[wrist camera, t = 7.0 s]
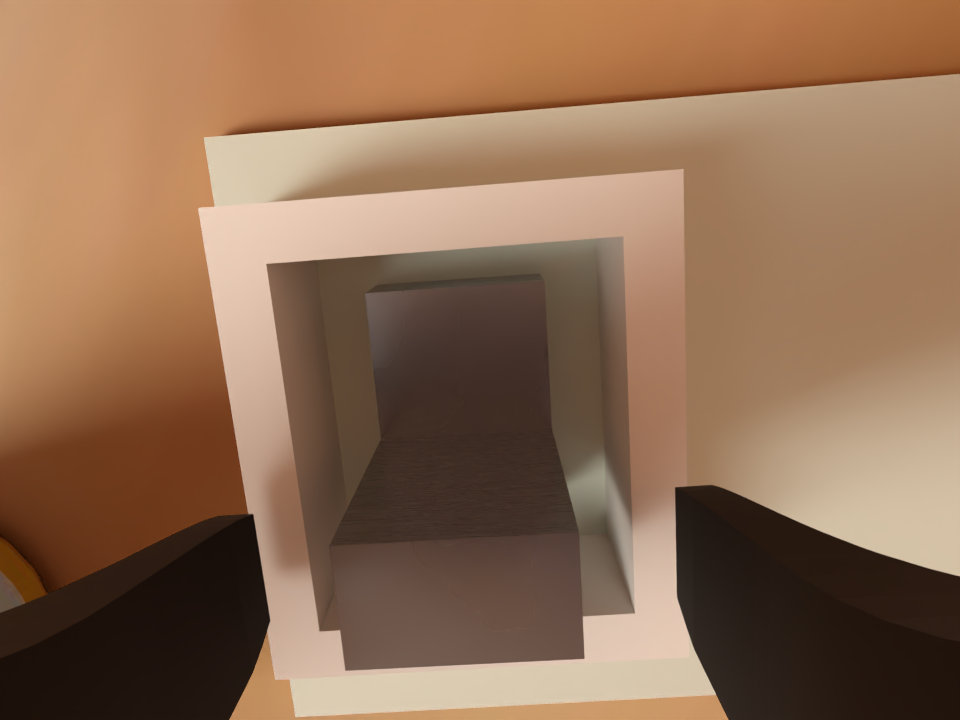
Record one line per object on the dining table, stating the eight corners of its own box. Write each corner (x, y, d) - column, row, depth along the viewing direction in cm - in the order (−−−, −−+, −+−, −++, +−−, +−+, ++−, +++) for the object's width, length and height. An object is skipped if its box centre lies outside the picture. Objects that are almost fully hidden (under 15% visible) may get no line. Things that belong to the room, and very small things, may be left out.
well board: (1009, 662, 17) (1151, 787, 13) (302, 700, 18) (251, 830, 14) (1072, 68, 14) (1277, 19, 10) (215, 140, 15) (122, 118, 11)
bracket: (551, 490, 16) (584, 658, 10) (399, 499, 16) (344, 670, 10) (539, 273, 15) (570, 318, 9) (377, 284, 15) (301, 336, 9)
